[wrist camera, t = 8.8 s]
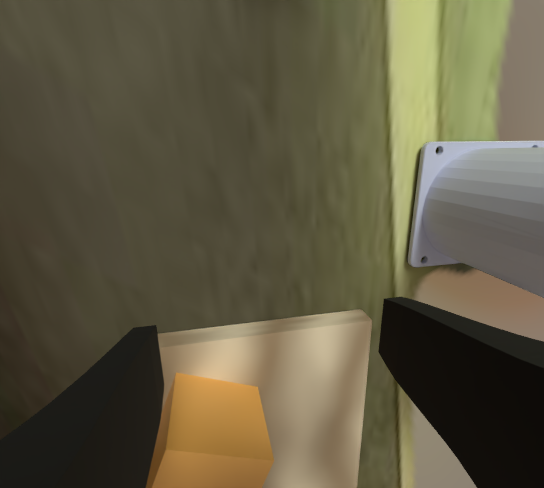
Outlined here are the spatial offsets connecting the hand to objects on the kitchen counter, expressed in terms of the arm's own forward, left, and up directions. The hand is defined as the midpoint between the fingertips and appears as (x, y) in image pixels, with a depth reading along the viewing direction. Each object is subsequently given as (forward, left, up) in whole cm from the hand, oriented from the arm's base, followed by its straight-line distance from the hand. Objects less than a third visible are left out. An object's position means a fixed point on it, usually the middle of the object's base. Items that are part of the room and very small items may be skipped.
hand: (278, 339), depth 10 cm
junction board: (0, +13, -9) cm, 16 cm away
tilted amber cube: (+3, +10, -8) cm, 13 cm away
